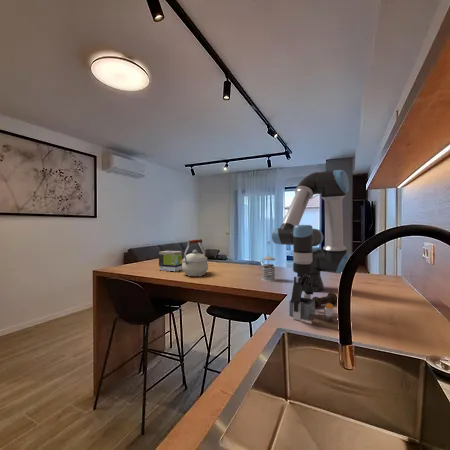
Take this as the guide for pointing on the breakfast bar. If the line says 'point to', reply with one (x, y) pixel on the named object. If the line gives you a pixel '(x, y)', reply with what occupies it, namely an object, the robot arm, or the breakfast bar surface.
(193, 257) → the kettle
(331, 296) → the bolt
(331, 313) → the keeper post
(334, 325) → the keeper base
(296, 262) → the robot arm
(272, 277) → the french press
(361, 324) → the breakfast bar surface
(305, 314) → the grey open box
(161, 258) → the tea box
